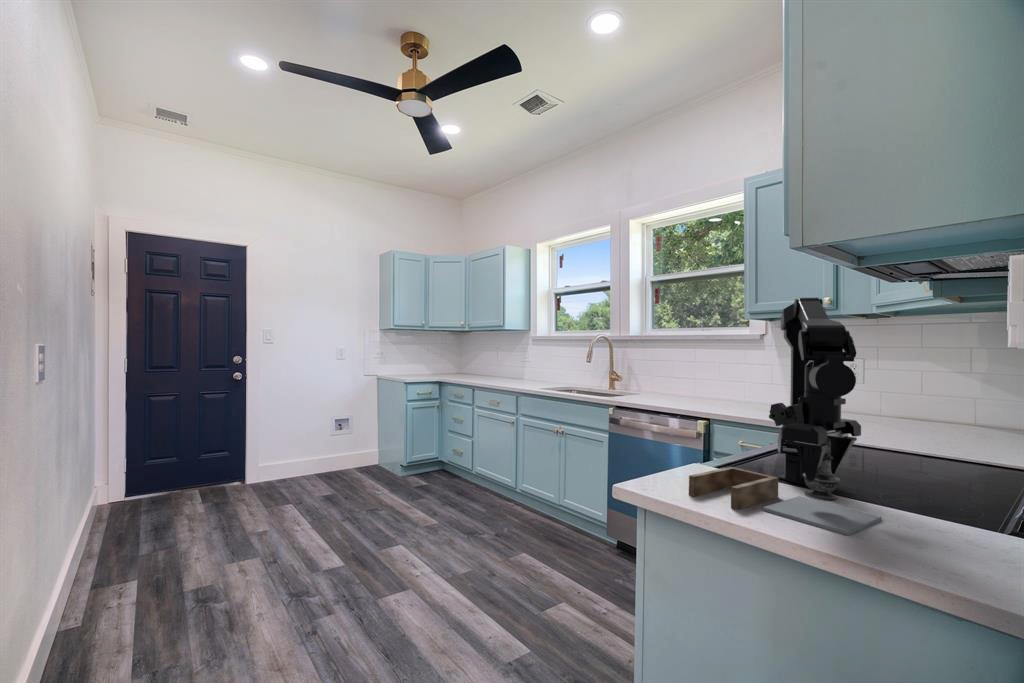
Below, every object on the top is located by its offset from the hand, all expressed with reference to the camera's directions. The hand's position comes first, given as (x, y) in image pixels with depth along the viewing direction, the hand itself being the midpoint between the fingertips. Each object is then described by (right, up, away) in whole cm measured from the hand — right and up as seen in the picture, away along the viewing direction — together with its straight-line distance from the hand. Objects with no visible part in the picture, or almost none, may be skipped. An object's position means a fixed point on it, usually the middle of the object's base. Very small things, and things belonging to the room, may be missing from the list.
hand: (821, 476), depth 88 cm
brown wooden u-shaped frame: (-12, -7, +10) cm, 17 cm away
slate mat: (0, -7, 0) cm, 7 cm away
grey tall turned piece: (0, -4, 0) cm, 4 cm away
